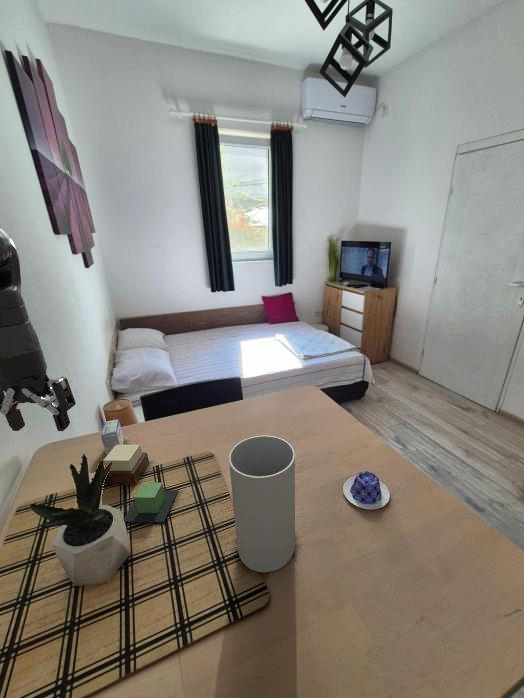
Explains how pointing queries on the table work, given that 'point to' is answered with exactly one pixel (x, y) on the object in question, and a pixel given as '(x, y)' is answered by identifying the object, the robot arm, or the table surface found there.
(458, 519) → the table surface
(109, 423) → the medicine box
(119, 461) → the cream block
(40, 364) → the robot arm
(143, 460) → the walnut block
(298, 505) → the table surface
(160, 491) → the green cube
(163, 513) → the rubber mat
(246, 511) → the cylinder vase
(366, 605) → the table surface
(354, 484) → the pudding
